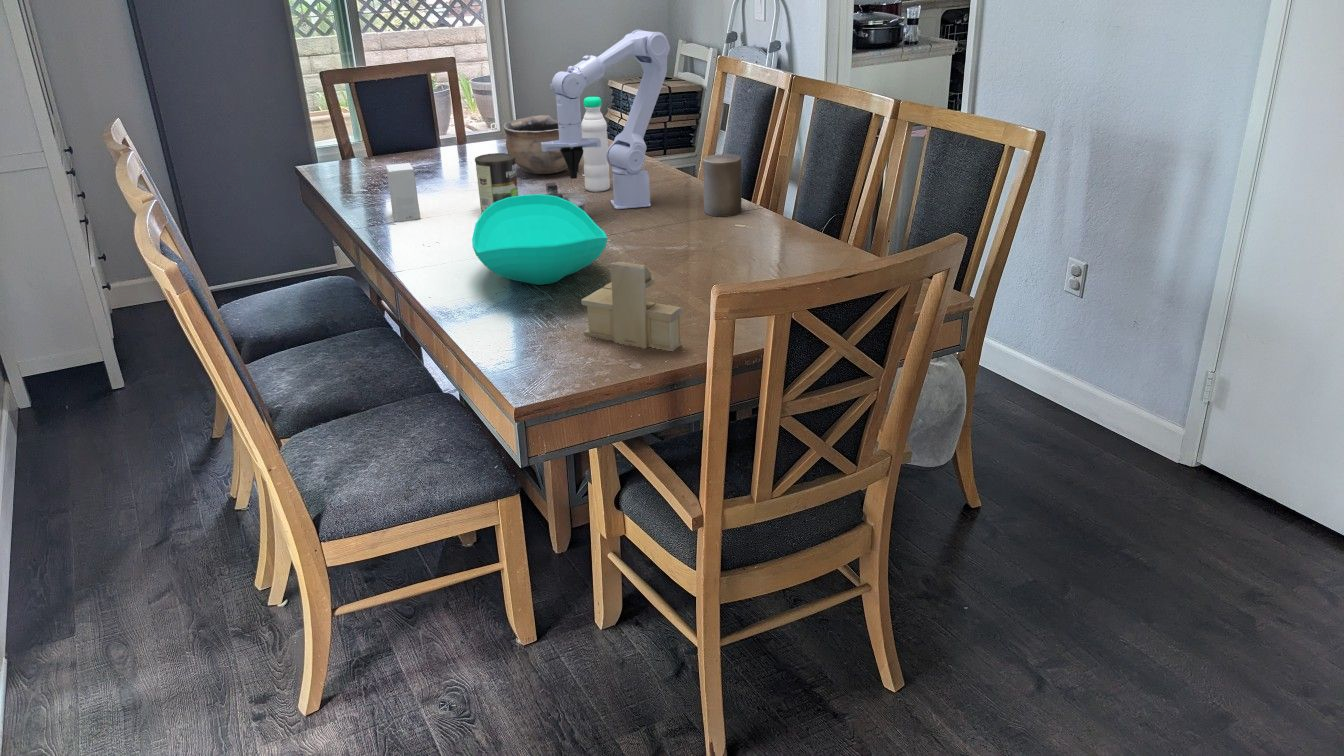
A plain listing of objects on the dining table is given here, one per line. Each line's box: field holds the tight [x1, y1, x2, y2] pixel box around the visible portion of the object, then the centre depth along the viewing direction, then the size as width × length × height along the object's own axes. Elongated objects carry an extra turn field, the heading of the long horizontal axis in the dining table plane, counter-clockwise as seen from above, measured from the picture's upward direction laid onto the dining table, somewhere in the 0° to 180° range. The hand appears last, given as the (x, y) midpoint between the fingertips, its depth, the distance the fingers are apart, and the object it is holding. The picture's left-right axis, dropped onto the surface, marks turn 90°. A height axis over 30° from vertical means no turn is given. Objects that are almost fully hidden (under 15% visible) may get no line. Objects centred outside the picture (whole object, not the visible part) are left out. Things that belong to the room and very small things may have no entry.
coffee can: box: [474, 152, 519, 214], centre depth 257 cm, size 10×10×14 cm
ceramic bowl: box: [502, 115, 568, 175], centre depth 294 cm, size 22×22×15 cm
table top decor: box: [471, 193, 608, 286], centre depth 207 cm, size 40×28×13 cm
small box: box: [385, 162, 421, 223], centre depth 254 cm, size 8×6×13 cm
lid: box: [545, 182, 587, 207], centre depth 246 cm, size 14×24×3 cm, turn 17°
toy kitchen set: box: [580, 261, 683, 352], centre depth 180 cm, size 18×17×15 cm
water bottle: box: [581, 96, 611, 193], centre depth 272 cm, size 7×7×25 cm
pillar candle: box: [702, 153, 743, 217], centre depth 250 cm, size 10×10×15 cm
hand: (573, 177), depth 249 cm, fingers closed
